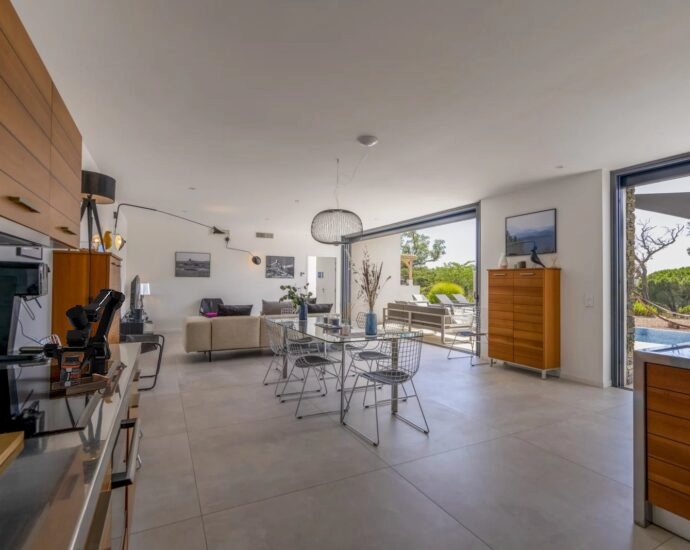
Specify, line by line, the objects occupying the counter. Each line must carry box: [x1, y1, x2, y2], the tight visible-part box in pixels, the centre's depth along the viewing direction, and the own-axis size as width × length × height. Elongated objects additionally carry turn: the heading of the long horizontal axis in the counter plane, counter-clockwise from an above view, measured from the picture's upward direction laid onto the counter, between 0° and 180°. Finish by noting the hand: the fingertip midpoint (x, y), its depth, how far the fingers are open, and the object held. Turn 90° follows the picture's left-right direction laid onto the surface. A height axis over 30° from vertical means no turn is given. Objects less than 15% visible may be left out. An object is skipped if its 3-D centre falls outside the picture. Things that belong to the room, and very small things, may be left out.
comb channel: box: [51, 374, 111, 396], centre depth 135 cm, size 11×14×4 cm
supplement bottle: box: [59, 354, 82, 390], centre depth 132 cm, size 6×6×11 cm
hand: (70, 369), depth 131 cm, fingers closed on supplement bottle, 6 cm apart
